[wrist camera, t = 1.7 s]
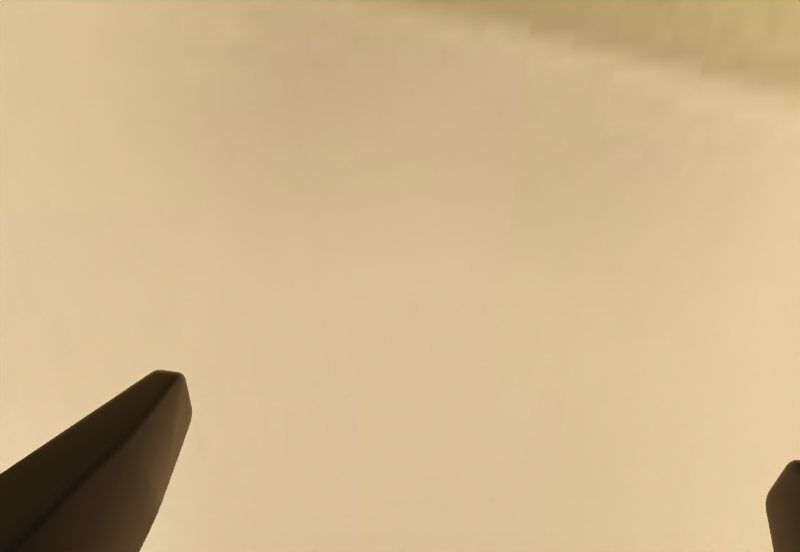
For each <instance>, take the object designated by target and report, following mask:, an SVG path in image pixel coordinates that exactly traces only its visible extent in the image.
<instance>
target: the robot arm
mask: <svg viewBox="0 0 800 552" xmlns="http://www.w3.org/2000/svg"><path fill="white" fill-rule="evenodd" d="M191 417H192V407H191V402H190V398H189V393H188V388H187V383H186V379H185V377H184V375H183V374H182V373H179V372H173V371H166V370H156V371H153V372H152V373H150V374H148V375H147V376H145V377H144V378H143V379H141V380H140V381H138V382H137V383H135V384H134V385H132V386H131V387H129V388H128V389H126V390H125V391H123V392H122V393H120V394H119V395H117V396H116V397H114V398H113V399H111V400H110V401H108V402H107V403H105V404H104V405H102V406H101V407H99V408H98V409H96V410H95V411H93V412H92V413H90V414H89V415H87V416H86V417H84V418H83V419H81V420H80V421H79V422H77V423H76V424H74V425H73V426H71V427H70V428H68V429H67V430H65V431H64V432H62V433H61V434H59V435H58V436H56V437H55V438H53V439H52V440H50V441H49V442H47V443H46V444H44V445H43V446H41V447H40V448H38V449H37V450H35V451H34V452H32V453H31V454H29V455H28V456H26V457H25V458H23V459H22V460H20V461H19V462H17V463H16V464H15V465H13V466H12V467H10V468H9V469H7V470H6V471H4V472H3V473H1V474H0V552H139V551H140V549H141V547H142V545H143V543H144V541H145V539H146V537H147V535H148V533H149V531H150V529H151V526H152V524H153V522H154V520H155V518H156V515H157V513H158V510H159V508H160V505H161V503H162V500H163V497H164V495H165V492H166V489H167V486H168V484H169V481H170V478H171V475H172V472H173V470H174V467H175V464H176V461H177V458H178V456H179V453H180V450H181V447H182V445H183V442H184V439H185V436H186V433H187V431H188V428H189V425H190V422H191ZM766 512H767V517H768V522H769V528H770V533H771V538H772V544H773V549H774V552H800V460H794V461H792V462H790V463H788V465H787V466H786V467H785V469H784V470H783V472H782V473H781V475H780V476H779V477H778V479H777V480H776V482H775V483H774V485H773V486H772V488H771V489H770V491H769V493H768V495H767V498H766Z"/></svg>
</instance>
